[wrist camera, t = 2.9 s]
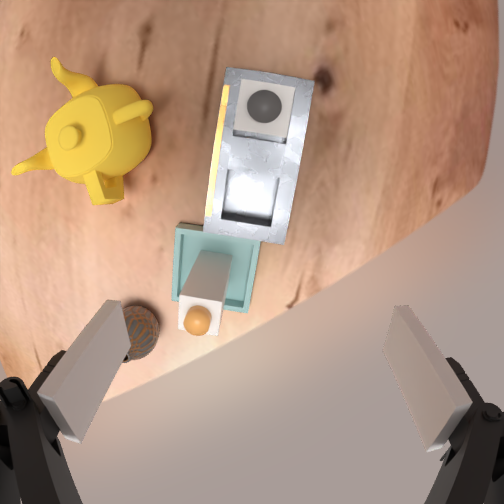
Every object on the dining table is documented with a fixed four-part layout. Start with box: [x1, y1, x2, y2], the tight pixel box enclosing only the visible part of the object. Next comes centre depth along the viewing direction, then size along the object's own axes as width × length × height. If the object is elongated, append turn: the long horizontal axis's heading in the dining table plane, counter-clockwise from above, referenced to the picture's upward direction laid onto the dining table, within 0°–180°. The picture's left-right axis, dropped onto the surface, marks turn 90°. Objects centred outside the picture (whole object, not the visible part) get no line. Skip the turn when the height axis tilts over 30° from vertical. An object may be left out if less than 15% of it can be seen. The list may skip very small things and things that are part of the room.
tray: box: [172, 223, 261, 313], centre depth 38 cm, size 10×10×2 cm
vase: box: [122, 306, 159, 363], centre depth 39 cm, size 7×7×9 cm
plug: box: [178, 250, 233, 336], centre depth 33 cm, size 4×4×12 cm
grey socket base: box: [203, 67, 315, 245], centre depth 32 cm, size 9×18×4 cm, turn 171°
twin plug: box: [233, 79, 295, 138], centre depth 25 cm, size 4×4×12 cm
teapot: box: [11, 57, 153, 205], centre depth 29 cm, size 14×13×10 cm
